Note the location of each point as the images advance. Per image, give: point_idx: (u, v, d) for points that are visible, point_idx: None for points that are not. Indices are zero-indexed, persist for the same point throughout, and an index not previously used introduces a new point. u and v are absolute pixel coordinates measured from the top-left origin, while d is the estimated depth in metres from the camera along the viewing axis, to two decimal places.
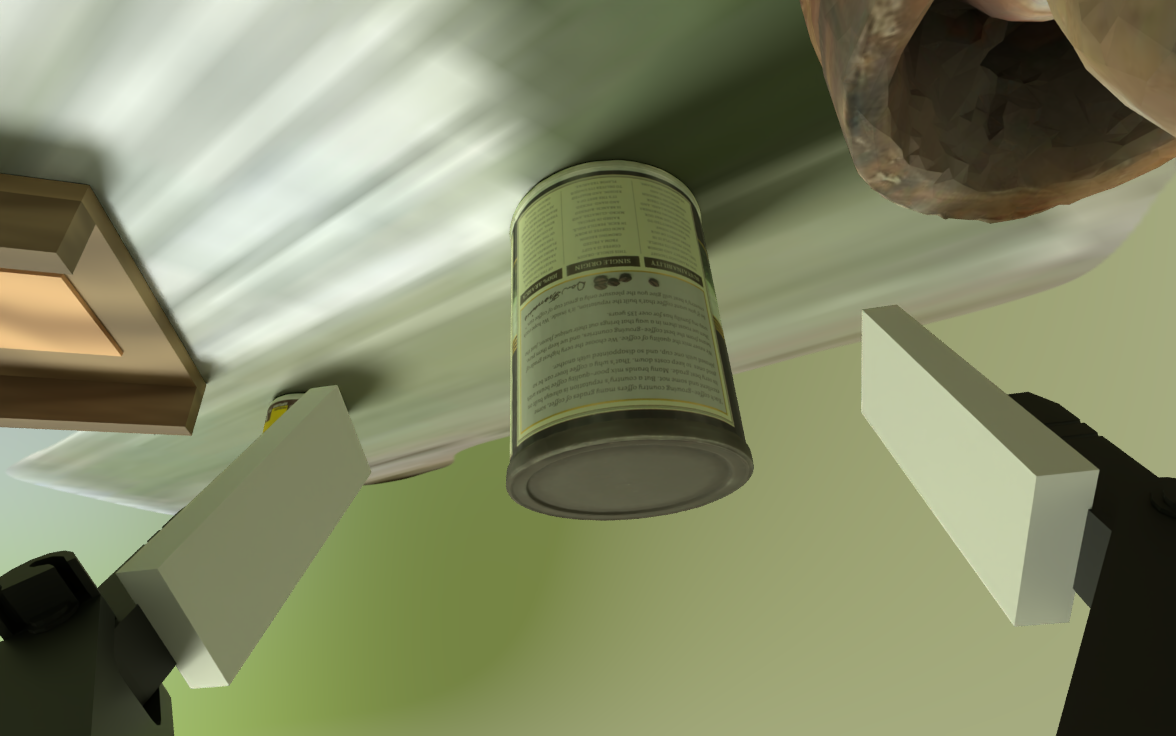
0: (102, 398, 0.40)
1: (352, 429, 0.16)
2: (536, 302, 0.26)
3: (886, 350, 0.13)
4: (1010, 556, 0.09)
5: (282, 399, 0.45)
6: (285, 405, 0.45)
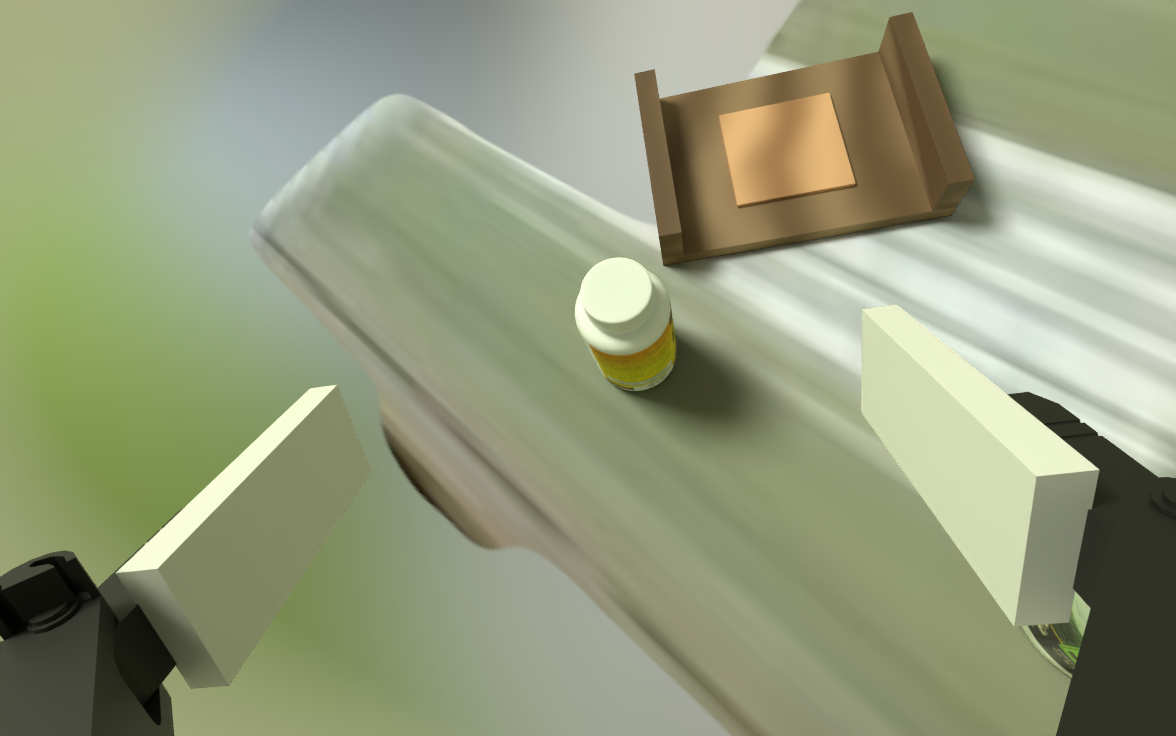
0: None
1: (352, 429, 0.16)
2: None
3: (887, 350, 0.13)
4: (1010, 556, 0.09)
5: None
6: None
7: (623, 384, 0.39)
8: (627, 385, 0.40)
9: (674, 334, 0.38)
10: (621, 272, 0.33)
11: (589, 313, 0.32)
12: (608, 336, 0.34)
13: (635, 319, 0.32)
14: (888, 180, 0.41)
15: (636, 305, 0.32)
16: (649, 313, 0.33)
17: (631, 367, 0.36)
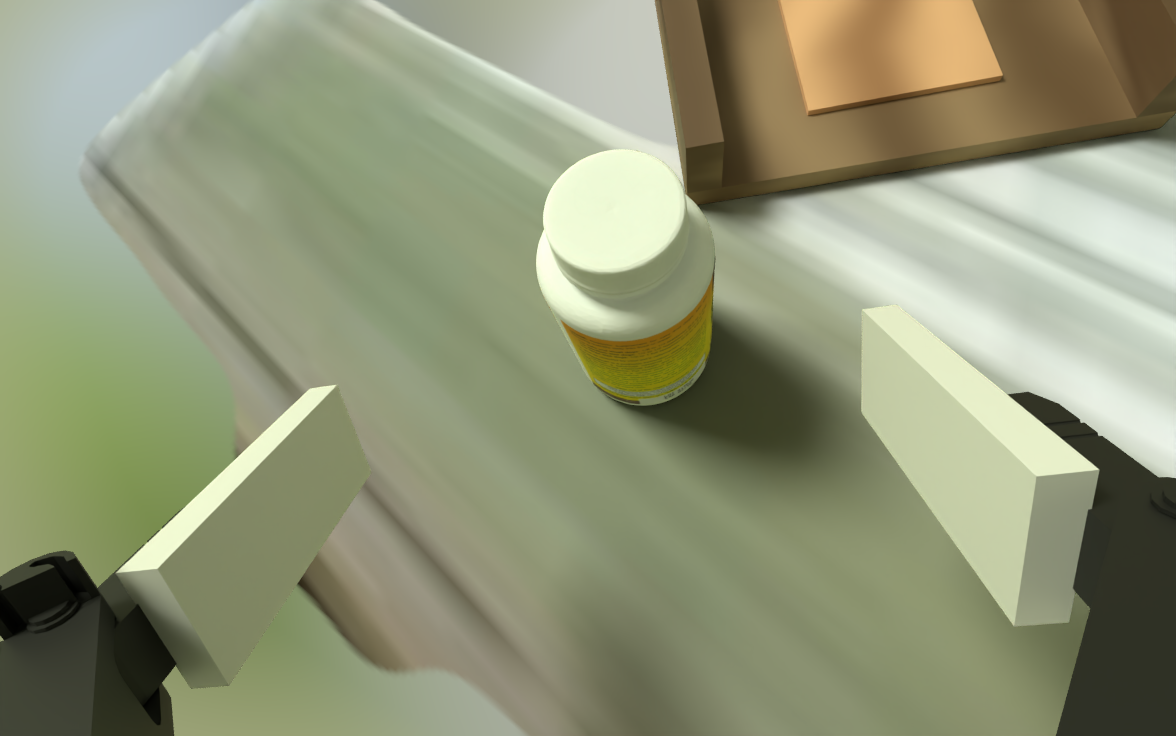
0: None
1: (353, 429, 0.16)
2: None
3: (887, 350, 0.13)
4: (1010, 556, 0.09)
5: None
6: None
7: (622, 394, 0.23)
8: (628, 397, 0.23)
9: None
10: (624, 177, 0.17)
11: (559, 254, 0.16)
12: (597, 304, 0.18)
13: (651, 267, 0.16)
14: (1056, 71, 0.26)
15: (654, 237, 0.16)
16: (678, 258, 0.17)
17: (638, 365, 0.20)
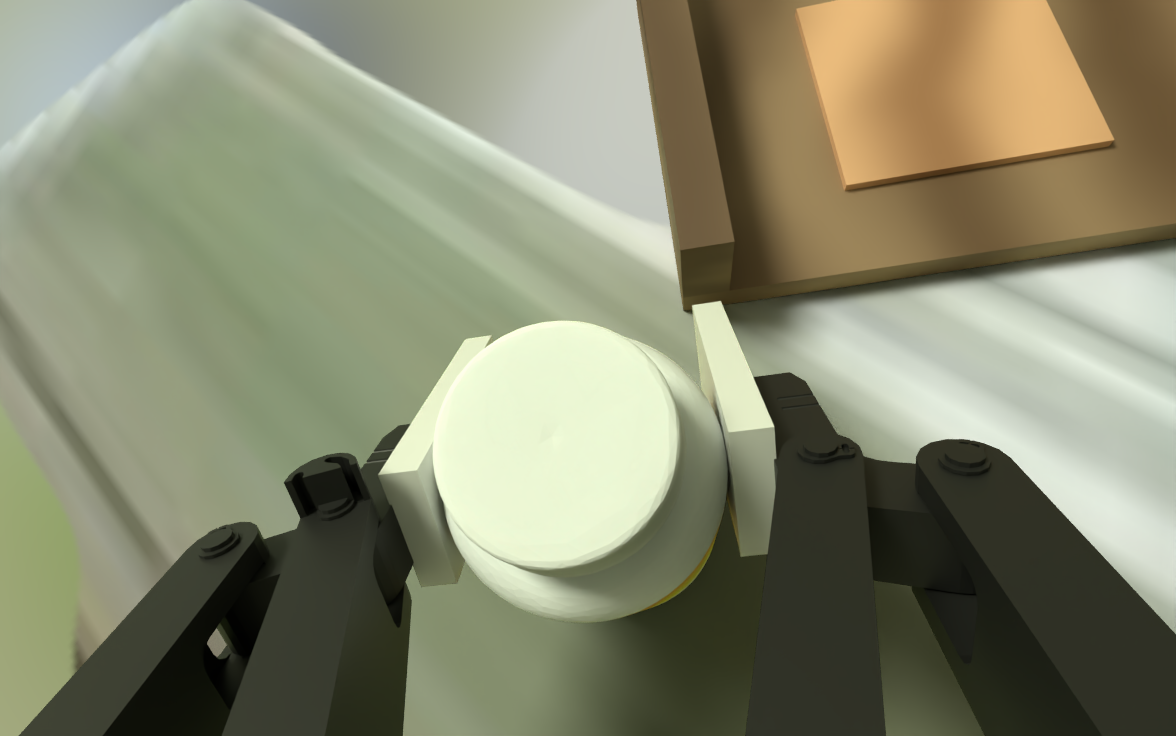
0: None
1: None
2: None
3: (699, 339, 0.15)
4: (733, 499, 0.11)
5: None
6: None
7: None
8: None
9: None
10: (573, 374, 0.10)
11: (456, 521, 0.09)
12: None
13: (618, 553, 0.09)
14: None
15: (623, 503, 0.09)
16: (667, 514, 0.10)
17: None
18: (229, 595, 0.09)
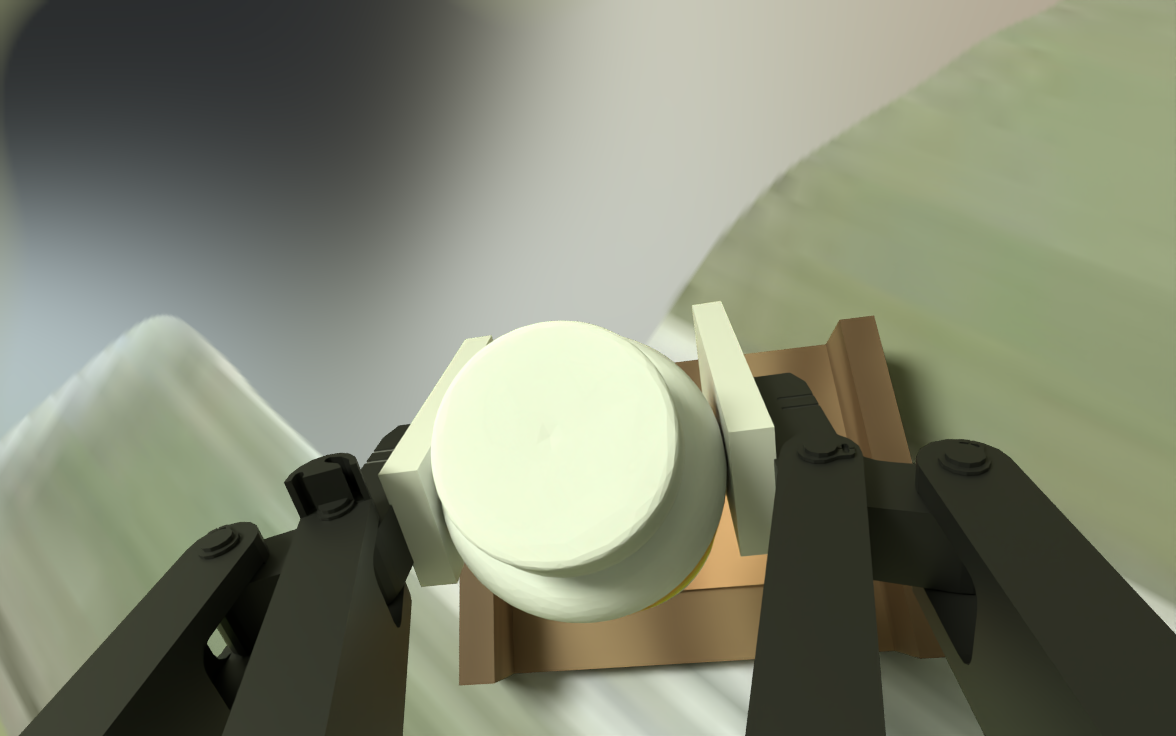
0: None
1: None
2: None
3: (699, 339, 0.15)
4: (733, 499, 0.11)
5: None
6: None
7: None
8: None
9: None
10: (571, 374, 0.10)
11: (454, 521, 0.09)
12: None
13: (616, 553, 0.09)
14: None
15: (621, 503, 0.09)
16: (665, 514, 0.10)
17: None
18: (229, 595, 0.09)
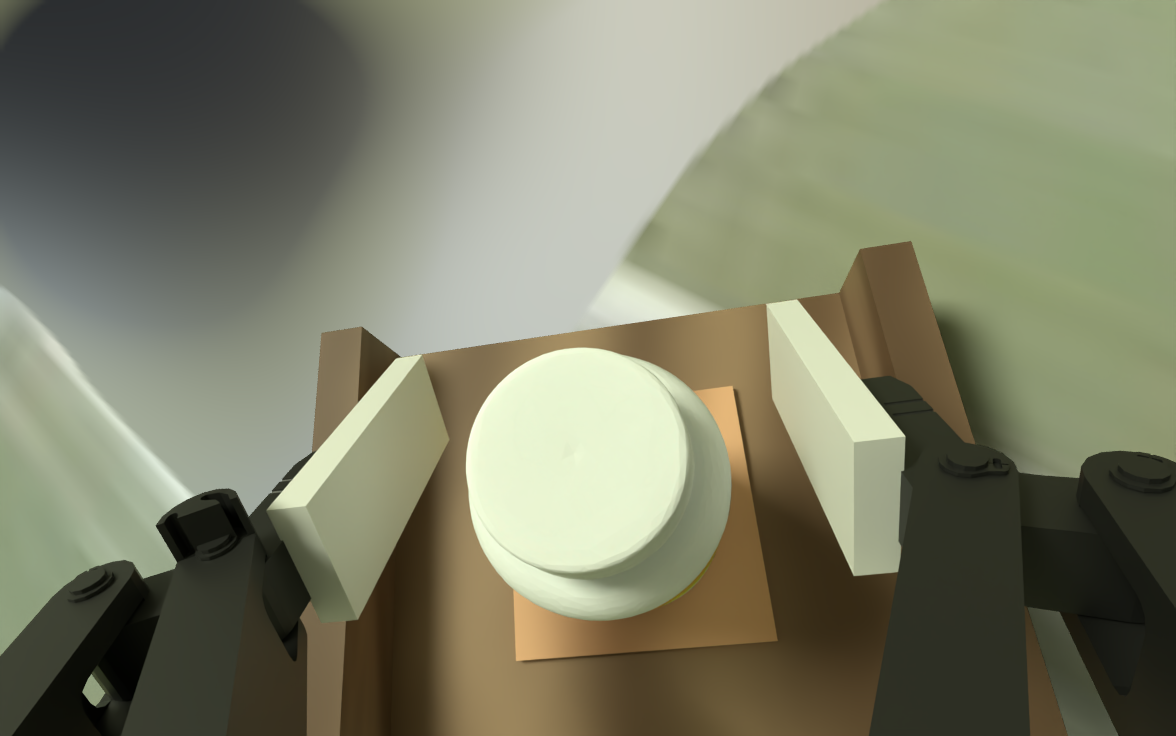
0: (376, 595, 0.19)
1: (434, 398, 0.17)
2: None
3: (780, 340, 0.14)
4: (848, 514, 0.10)
5: None
6: None
7: None
8: None
9: None
10: (593, 397, 0.11)
11: (488, 529, 0.10)
12: None
13: (634, 558, 0.10)
14: (853, 636, 0.18)
15: (638, 513, 0.10)
16: (677, 523, 0.11)
17: None
18: (107, 634, 0.09)
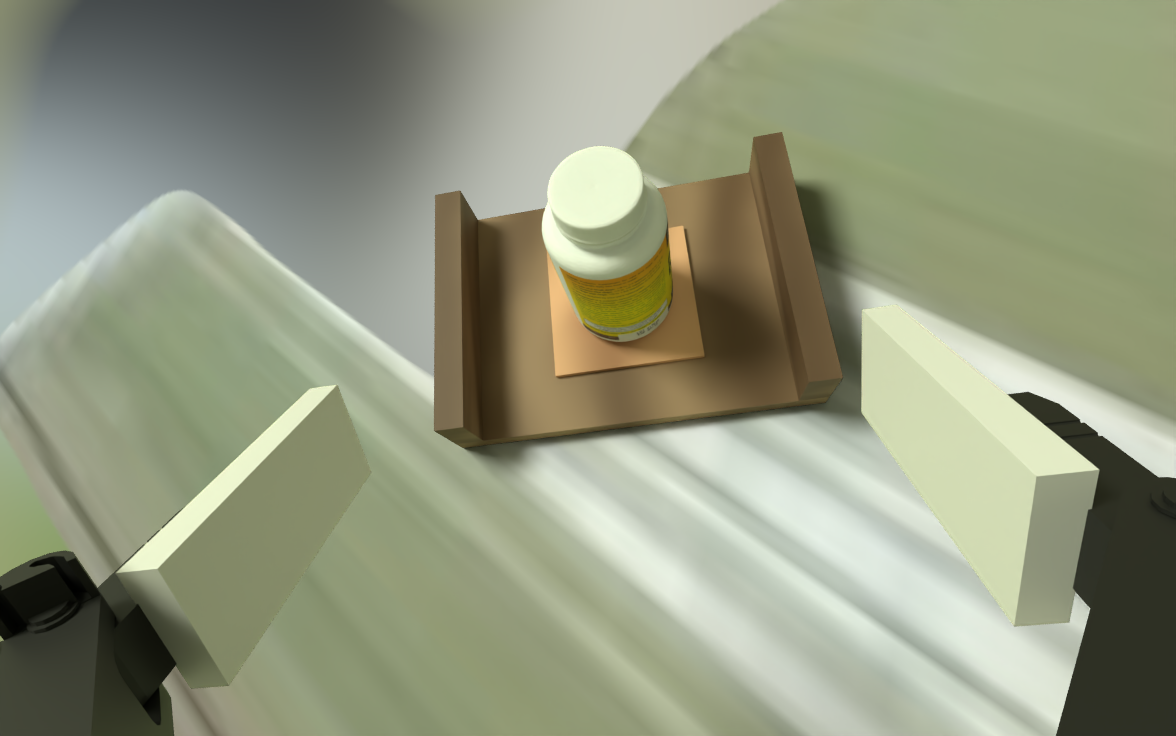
0: (473, 341, 0.33)
1: (353, 429, 0.16)
2: None
3: (887, 350, 0.13)
4: (1010, 556, 0.09)
5: None
6: None
7: (605, 331, 0.31)
8: (610, 333, 0.31)
9: None
10: (602, 164, 0.24)
11: (558, 217, 0.24)
12: (584, 253, 0.25)
13: (620, 225, 0.24)
14: (747, 352, 0.32)
15: (622, 205, 0.24)
16: (639, 220, 0.24)
17: (615, 301, 0.28)
18: None
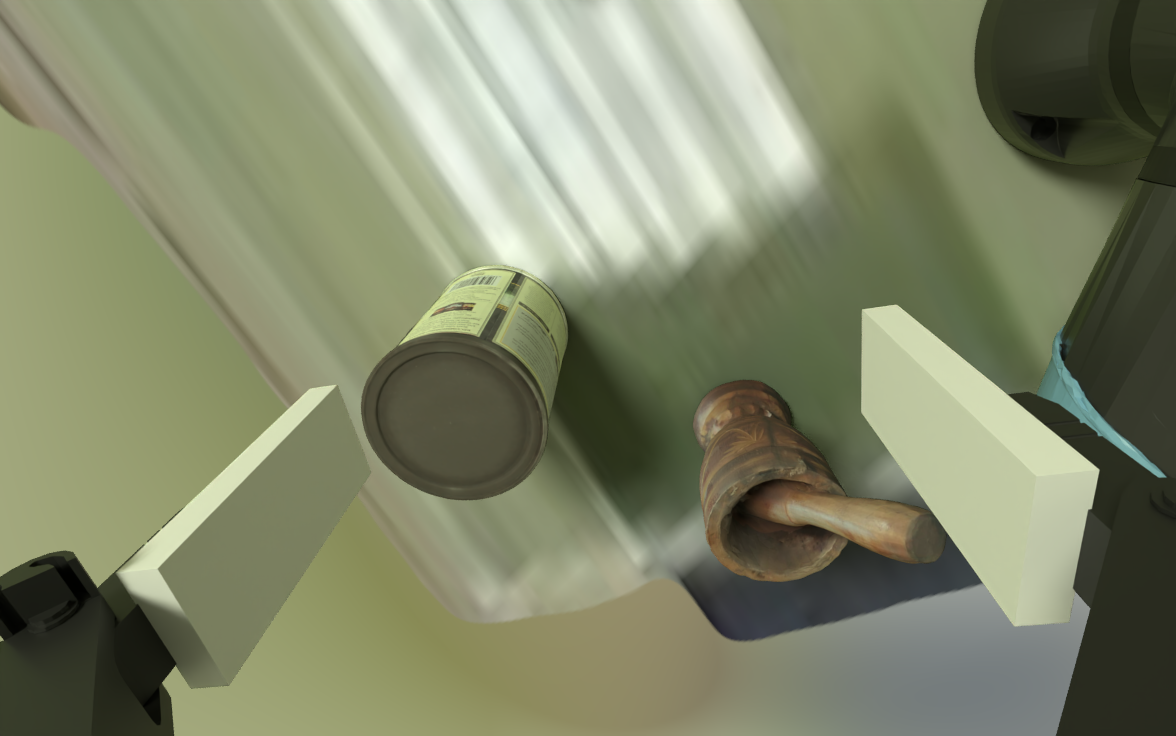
0: None
1: (352, 429, 0.16)
2: (533, 319, 0.38)
3: (887, 350, 0.13)
4: (1010, 556, 0.09)
5: None
6: None
7: None
8: None
9: None
10: None
11: None
12: None
13: None
14: None
15: None
16: None
17: None
18: None
